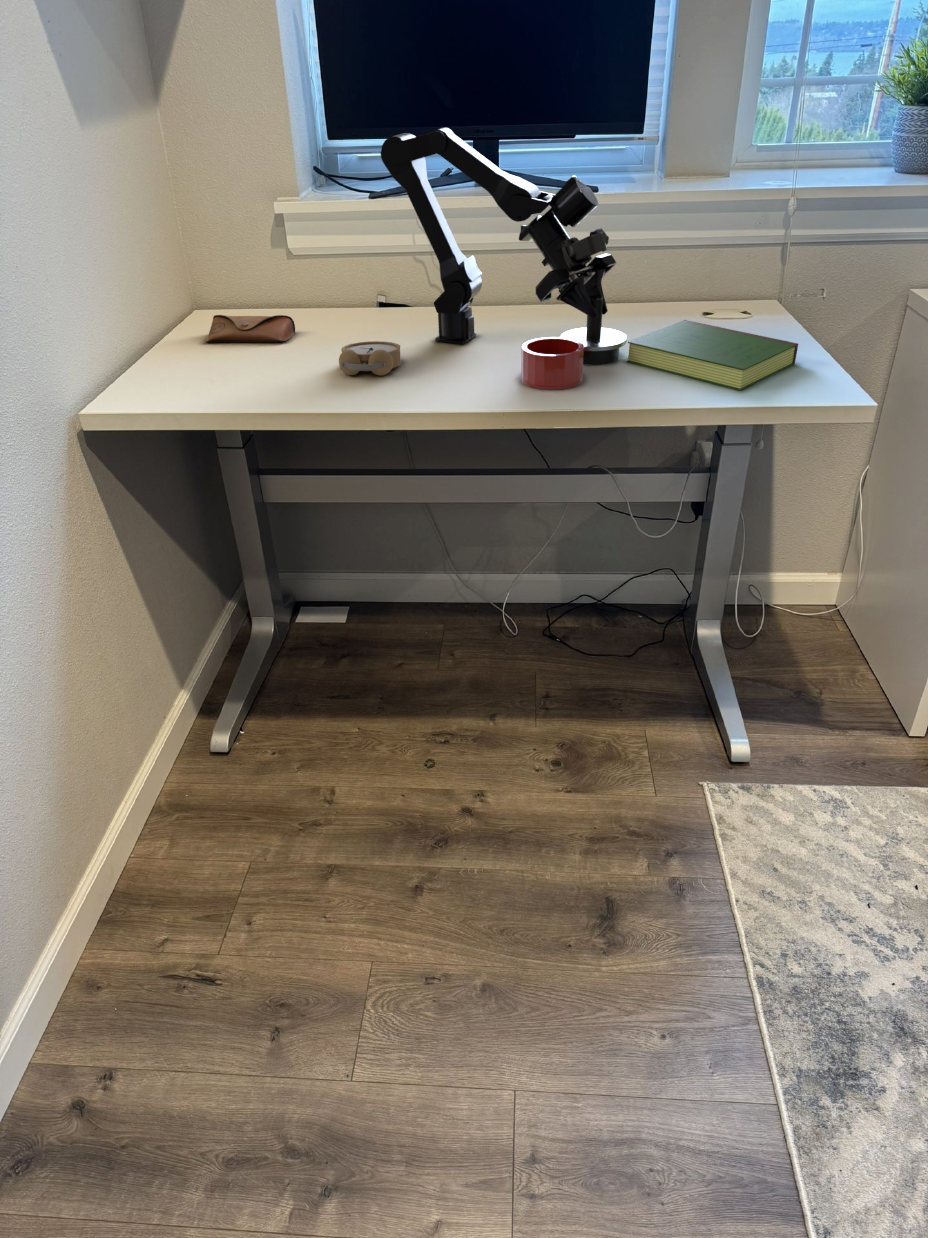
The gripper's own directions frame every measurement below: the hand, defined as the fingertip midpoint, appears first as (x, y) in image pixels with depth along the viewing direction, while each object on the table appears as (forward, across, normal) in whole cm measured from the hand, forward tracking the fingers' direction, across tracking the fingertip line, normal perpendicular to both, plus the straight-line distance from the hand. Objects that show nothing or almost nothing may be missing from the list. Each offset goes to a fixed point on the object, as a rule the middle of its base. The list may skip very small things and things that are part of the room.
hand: (600, 314), depth 163 cm
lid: (+3, 0, +5) cm, 5 cm away
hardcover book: (+18, +10, -7) cm, 22 cm away
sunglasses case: (-41, -33, +53) cm, 74 cm away
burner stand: (+5, 0, +7) cm, 8 cm away
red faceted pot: (+6, -15, +6) cm, 17 cm away
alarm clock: (-16, -31, +28) cm, 44 cm away
